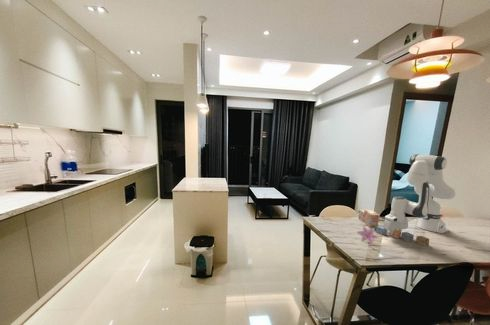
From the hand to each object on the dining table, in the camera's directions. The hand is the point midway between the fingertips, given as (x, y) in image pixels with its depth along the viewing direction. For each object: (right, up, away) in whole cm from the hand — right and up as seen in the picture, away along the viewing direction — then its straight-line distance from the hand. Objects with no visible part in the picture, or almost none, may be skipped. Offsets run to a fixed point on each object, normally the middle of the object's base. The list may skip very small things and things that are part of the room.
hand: (395, 234), depth 153 cm
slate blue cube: (-7, -1, +6) cm, 9 cm away
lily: (-27, -2, -9) cm, 29 cm away
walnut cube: (+12, -3, -10) cm, 16 cm away
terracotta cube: (0, -2, 0) cm, 2 cm away
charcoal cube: (+5, -2, -5) cm, 7 cm away
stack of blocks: (-6, +1, +25) cm, 26 cm away
